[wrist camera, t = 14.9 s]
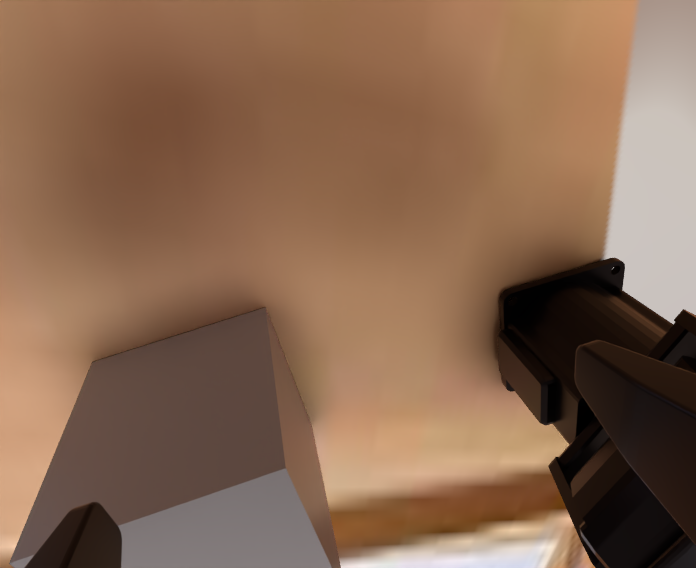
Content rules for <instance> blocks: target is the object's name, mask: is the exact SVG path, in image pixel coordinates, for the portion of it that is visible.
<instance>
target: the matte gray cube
mask: <svg viewBox="0 0 696 568" xmlns="http://www.w3.org/2000/svg"><path fill="white" fill-rule="evenodd" d="M90 502H98V503H100V504H101V505H102V506H103V508H104V509H105V510H106V511H107V513H108V514H109V515H110V516H111V518H112V519H113V520H114V522H115V523H116V524H117V525H118V527H119V529H120V531H121V535H122V561H121V568H341V566H340V561H339V556H338V552H337V547H336V542H335V537H334V532H333V527H332V522H331V517H330V512H329V507H328V503H327V498H326V493H325V488H324V483H323V478H322V473H321V468H320V463H319V459H318V454H317V449H316V444H315V439H314V434H313V429H312V425H311V422H310V420H309V417H308V415H307V412H306V410H305V407H304V404H303V402H302V399H301V397H300V394H299V392H298V389H297V386H296V384H295V381H294V379H293V376H292V374H291V371H290V369H289V366H288V363H287V361H286V358H285V356H284V353H283V351H282V348H281V345H280V343H279V340H278V338H277V335H276V333H275V330H274V328H273V325H272V322H271V320H270V317H269V315H268V312H267V310H266V307H265V308H262V309H258V310H255V311H252V312H249V313H246V314H243V315H239V316H236V317H233V318H230V319H227V320H224V321H221V322H217V323H214V324H211V325H208V326H205V327H202V328H198V329H195V330H192V331H189V332H186V333H183V334H180V335H176V336H173V337H170V338H167V339H164V340H161V341H157V342H154V343H151V344H148V345H145V346H142V347H139V348H135V349H132V350H129V351H126V352H123V353H120V354H117V355H113V356H110V357H107V358H104V359H101V360H98V361H94V362H92V364H91V366H90V369H89V371H88V374H87V376H86V379H85V381H84V383H83V386H82V388H81V391H80V393H79V396H78V398H77V400H76V403H75V405H74V408H73V410H72V412H71V415H70V417H69V420H68V422H67V425H66V427H65V429H64V432H63V434H62V437H61V439H60V442H59V444H58V446H57V449H56V451H55V454H54V456H53V459H52V461H51V463H50V466H49V468H48V471H47V473H46V476H45V478H44V480H43V483H42V485H41V488H40V490H39V492H38V495H37V497H36V500H35V502H34V505H33V507H32V509H31V512H30V514H29V517H28V519H27V522H26V524H25V526H24V529H23V531H22V534H21V536H20V539H19V541H18V543H17V546H16V548H15V551H14V553H13V556H12V558H11V560H10V563H9V564H11V565H12V566H13V567H14V568H24V567H25V566H26V565H27V563H28V562H29V561H30V560H31V558H32V557H33V556H34V555H35V553H36V552H37V551H38V550H39V548H40V547H41V546H42V544H43V543H44V542H45V541H46V539H47V538H48V537H49V536H50V534H51V533H52V532H53V531H54V529H55V528H56V527H57V526H58V524H59V523H60V522H61V520H62V519H63V518H64V517H65V515H66V514H67V513H68V512H69V511H70V510H71V509H73V508H75V507H78V506H81V505H84V504H87V503H90Z"/></svg>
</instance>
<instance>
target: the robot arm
mask: <svg viewBox="0 0 696 568" xmlns="http://www.w3.org/2000/svg"><path fill="white" fill-rule="evenodd" d="M613 267H614V268H613ZM612 268H613V269H612ZM624 270H625V264H624V263H623V262H622V261H620V260H619V259H617V258H609V259H606V260H603V261H599V262H596V263H593V264H589V265H586V266H583V267H580V268H576V269H573V270H570V271H566V272H563V273H560V274H556V275H553V276H550V277H546V278H543V279H540V280H536V281H533V282H530V283H526V284H523V285H520V286H516V287H513V288H510V289H507V290H505V291H504V292H503V293H502V294H501V296H500V299H499V307H500V331H499V333H498V336H497V337H498V359H499V371H500V372H501V374H502V379H503V385H504V386H505V387H506V389H507V390H508V391H515V392H516V393H517V394H518V395H519V397H520V398H521V399H522V401H523V402H524V403H525V404H526V406H527V407H528V408H529V410H530V411H531V412H532V413H533V415H534V416H535V417H536V419H537V420H538V421H539V422H540V423H542V424H544V425H549V424H553V425H554V426H555V427H556V429H557V430H558V431H559V432H560V433H561V435H562V436H563V437H564V438H565V440H566V441H567V442H568V443H569V446H568V447H567V448H566V449H565V451H564V452H563V453H562V454H561V455H560V456H559V457H556V458H555V459H554V460H553V461H552V462H551V463H550V464H549V469H550V471H551V473H552V476H553V478H554V480H555V483H556V485H557V487H558V490H559V492H560V494H561V496H562V499H563V501H564V503H565V506H566V508H567V510H568V512H569V515H570V517H571V519H572V522H573V524H574V526H575V529H576V531H577V533H578V535H579V538H580V540H581V542H582V544H583V546H584V548H585V550H586V552H587V554H588V556H589V558H590V561H591V562H592V564H593V565H594V566H595V568H696V315H694V314H692V313H690V312H688V311H686V310H684V309H683V310H682V311H681V313H680V314H679V315H678V316H677V317H676V318H675V320H674V321H675V324H674V325H673V324H672V323H670V322H669V321H667V320H666V319H664V318H663V317H661V316H659V315H658V314H656V313H655V312H654V311H652V310H651V309H649V308H647V307H646V306H645V305H643V304H642V303H640V302H639V301H637V300H636V299H634V298H633V297H631V296H630V295H628V294H627V293H625V292H624V291H622V287H623V279H624ZM512 297H513V299H512V300H511V301H509V299H510V298H512ZM508 301H509V302H508ZM121 561H122V535H121V531H120V529H119V527H118V525H117V524H116V523H115V522H114V520H113V519H112V518H111V516H110V515H109V514H108V513H107V511H106V510H105V509H104V508H103V506H102V505H101V504H100V503H98V502H90V503H87V504H84V505H81V506H78V507H75V508H73V509H71V510H70V511H69V512H68V513H67V514H66V515H65V517H64V518H63V519H62V520H61V522H60V523H59V524H58V526H57V527H56V528H55V529H54V531H53V532H52V533H51V534H50V536H49V537H48V538H47V539H46V541H45V542H44V543H43V544H42V546H41V547H40V548H39V550H38V551H37V552H36V553H35V555H34V556H33V557H32V558H31V560H30V561H29V562H28V563H27V565H26V566H25V567H24V568H121Z"/></svg>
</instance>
